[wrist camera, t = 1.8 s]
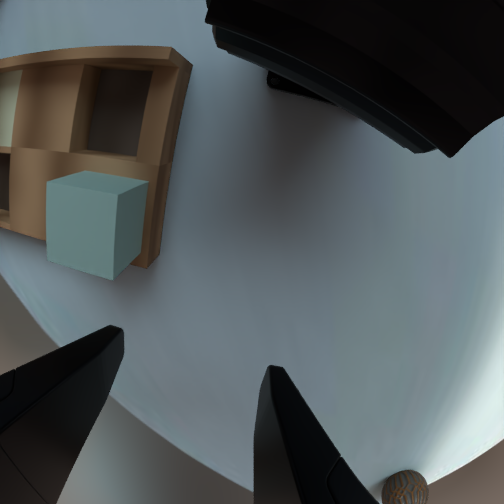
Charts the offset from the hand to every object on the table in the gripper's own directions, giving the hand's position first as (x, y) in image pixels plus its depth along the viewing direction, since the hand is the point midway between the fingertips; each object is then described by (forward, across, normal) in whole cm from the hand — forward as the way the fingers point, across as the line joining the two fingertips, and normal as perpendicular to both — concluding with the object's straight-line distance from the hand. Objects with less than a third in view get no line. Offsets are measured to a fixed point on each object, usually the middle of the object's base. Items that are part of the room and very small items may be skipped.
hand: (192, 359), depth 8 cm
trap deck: (+13, +14, -3) cm, 19 cm away
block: (+10, +8, 0) cm, 13 cm away
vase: (+13, -30, +31) cm, 45 cm away
